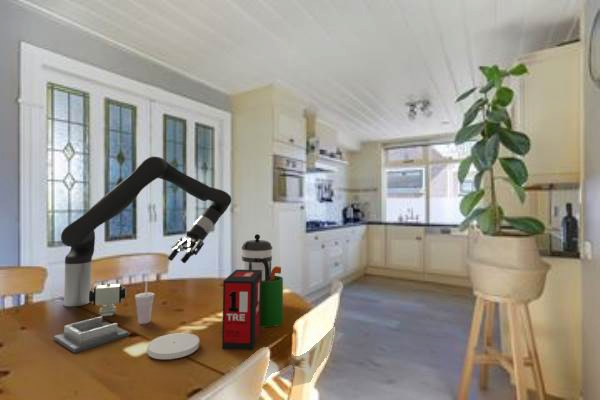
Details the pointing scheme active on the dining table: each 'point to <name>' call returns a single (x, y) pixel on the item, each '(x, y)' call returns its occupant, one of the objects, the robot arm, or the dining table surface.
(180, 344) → the plastic lid
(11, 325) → the dining table surface
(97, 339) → the mount plate
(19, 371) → the dining table surface
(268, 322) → the green cylindrical container
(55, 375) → the dining table surface
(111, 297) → the pneumatic valve
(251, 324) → the cleaning product box
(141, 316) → the smoothie
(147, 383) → the dining table surface
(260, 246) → the coffee press
